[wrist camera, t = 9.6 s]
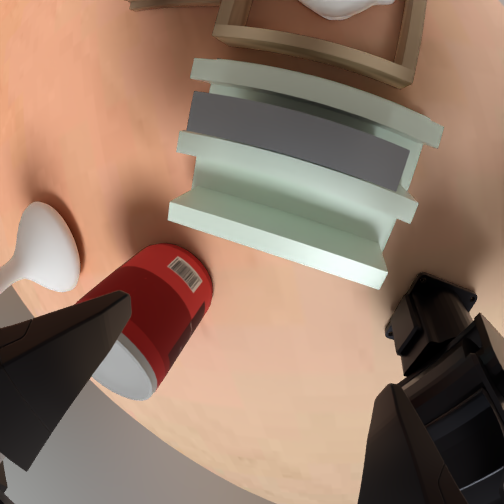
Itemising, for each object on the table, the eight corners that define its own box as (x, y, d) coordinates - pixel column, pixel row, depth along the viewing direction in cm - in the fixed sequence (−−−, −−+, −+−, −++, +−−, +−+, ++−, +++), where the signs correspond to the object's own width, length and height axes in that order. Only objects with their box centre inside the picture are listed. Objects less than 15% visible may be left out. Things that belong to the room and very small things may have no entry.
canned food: (135, 233, 24) (45, 298, 15) (216, 249, 23) (140, 341, 13) (144, 301, 28) (78, 373, 18) (215, 322, 26) (161, 415, 17)
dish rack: (425, 118, 14) (455, 118, 10) (372, 262, 20) (381, 301, 15) (222, 61, 16) (188, 46, 12) (194, 204, 21) (160, 228, 17)
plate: (375, 138, 15) (410, 150, 8) (368, 162, 16) (395, 192, 9) (250, 101, 16) (194, 91, 9) (245, 125, 17) (186, 130, 10)
